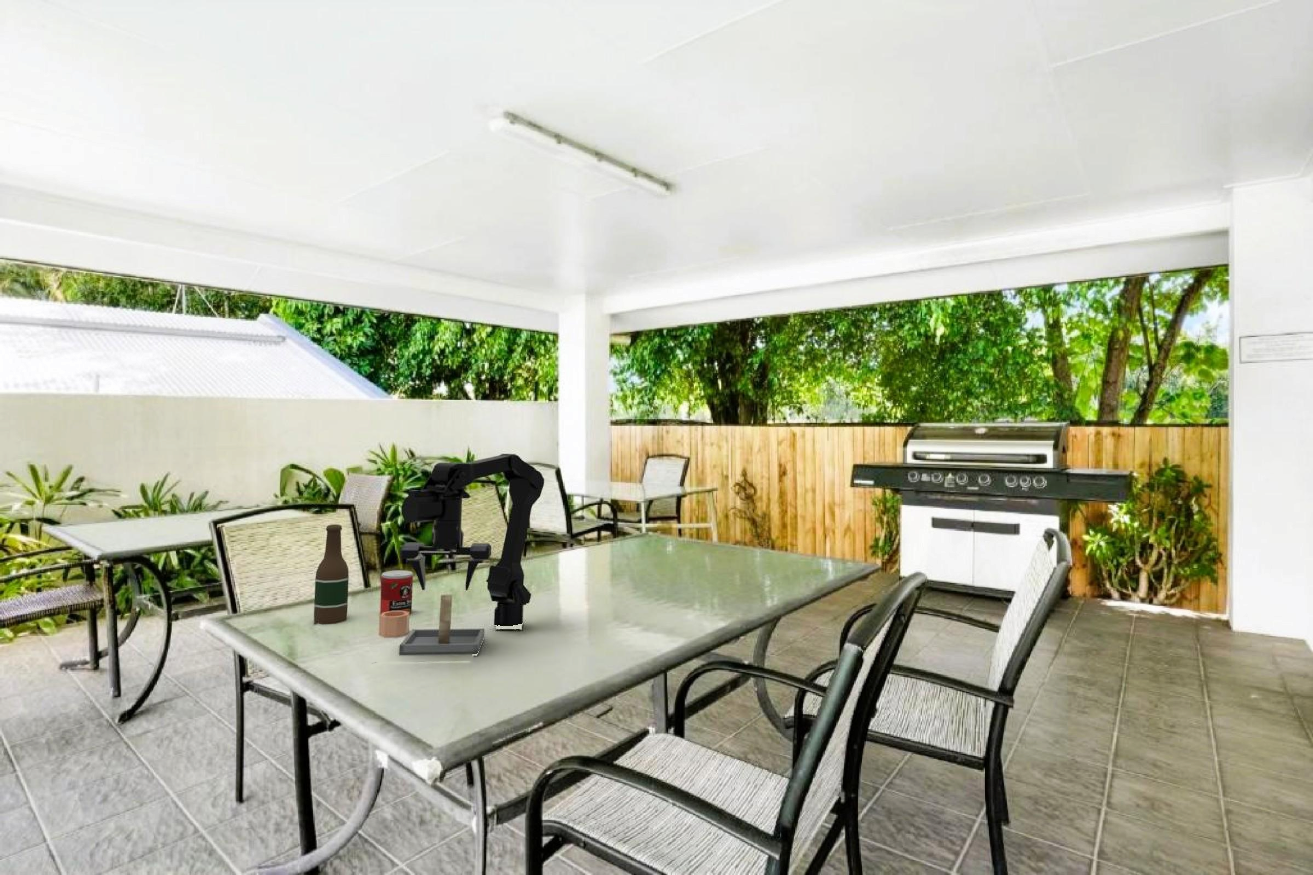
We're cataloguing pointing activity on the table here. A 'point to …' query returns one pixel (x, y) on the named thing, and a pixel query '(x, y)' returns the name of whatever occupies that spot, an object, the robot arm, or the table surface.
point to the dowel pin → (445, 619)
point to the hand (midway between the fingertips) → (445, 589)
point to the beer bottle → (331, 582)
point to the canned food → (396, 591)
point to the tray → (428, 644)
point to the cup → (394, 623)
